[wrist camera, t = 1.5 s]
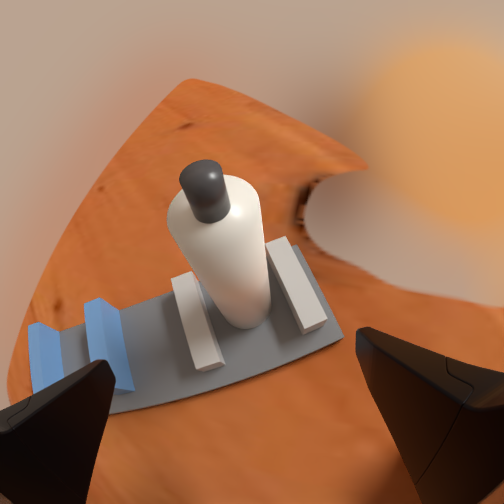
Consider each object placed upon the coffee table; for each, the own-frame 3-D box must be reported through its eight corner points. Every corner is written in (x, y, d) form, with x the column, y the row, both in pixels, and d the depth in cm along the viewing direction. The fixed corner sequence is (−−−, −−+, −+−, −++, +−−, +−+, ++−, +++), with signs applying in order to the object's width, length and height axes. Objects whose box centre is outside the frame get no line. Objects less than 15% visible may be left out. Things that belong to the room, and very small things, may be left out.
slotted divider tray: (342, 338, 20) (354, 326, 17) (58, 421, 17) (31, 418, 14) (296, 248, 25) (298, 222, 21) (47, 340, 22) (22, 328, 19)
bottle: (279, 317, 21) (273, 191, 9) (230, 336, 20) (156, 234, 8) (260, 275, 23) (235, 130, 11) (215, 292, 22) (145, 162, 10)
